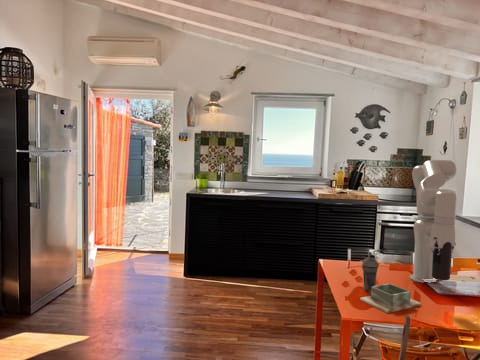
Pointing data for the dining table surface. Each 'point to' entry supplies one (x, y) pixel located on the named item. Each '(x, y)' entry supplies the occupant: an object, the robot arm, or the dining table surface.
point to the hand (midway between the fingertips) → (441, 262)
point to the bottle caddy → (390, 298)
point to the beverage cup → (369, 272)
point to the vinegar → (443, 263)
